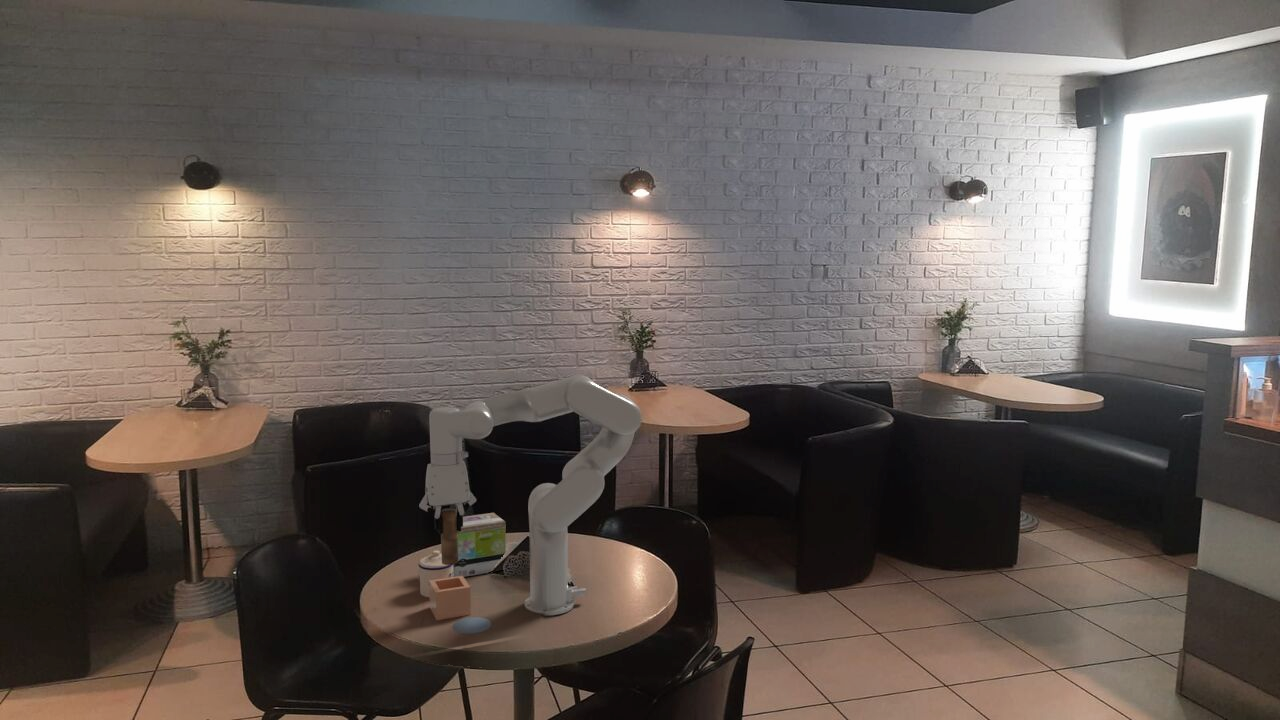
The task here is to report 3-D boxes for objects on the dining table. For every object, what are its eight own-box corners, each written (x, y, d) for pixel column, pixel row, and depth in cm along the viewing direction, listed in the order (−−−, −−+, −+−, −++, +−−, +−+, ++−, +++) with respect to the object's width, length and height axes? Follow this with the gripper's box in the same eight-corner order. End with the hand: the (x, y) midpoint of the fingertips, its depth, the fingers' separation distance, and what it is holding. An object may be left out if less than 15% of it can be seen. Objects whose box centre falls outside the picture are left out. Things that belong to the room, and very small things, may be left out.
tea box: (455, 580, 240) (453, 528, 238) (443, 569, 248) (442, 518, 246) (506, 570, 247) (505, 520, 245) (494, 559, 256) (493, 510, 254)
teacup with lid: (453, 599, 226) (452, 556, 225) (417, 601, 225) (416, 558, 224) (456, 582, 238) (455, 541, 237) (422, 584, 237) (421, 542, 235)
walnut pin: (456, 558, 219) (454, 507, 217) (460, 563, 215) (458, 512, 213) (440, 560, 217) (438, 509, 215) (443, 565, 213) (441, 514, 212)
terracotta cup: (463, 604, 223) (462, 575, 222) (470, 617, 215) (470, 587, 214) (429, 610, 220) (429, 580, 219) (436, 623, 212) (435, 592, 211)
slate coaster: (485, 618, 215) (485, 614, 215) (495, 632, 207) (495, 629, 207) (449, 624, 212) (449, 621, 211) (457, 639, 203) (457, 636, 203)
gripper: (476, 451, 219) (478, 522, 222) (408, 458, 213) (411, 531, 215) (484, 458, 213) (486, 531, 215) (414, 465, 206) (417, 540, 208)
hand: (449, 530), depth 215 cm, fingers closed on walnut pin, 4 cm apart
